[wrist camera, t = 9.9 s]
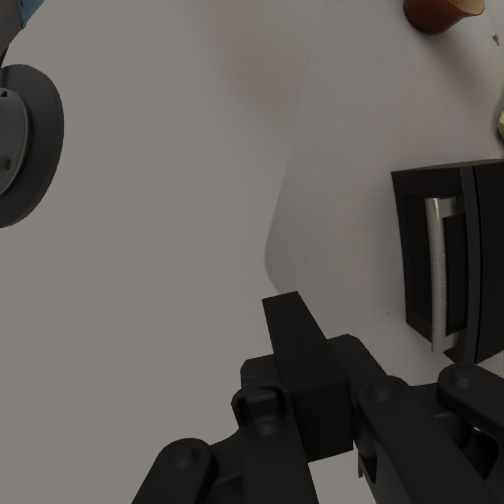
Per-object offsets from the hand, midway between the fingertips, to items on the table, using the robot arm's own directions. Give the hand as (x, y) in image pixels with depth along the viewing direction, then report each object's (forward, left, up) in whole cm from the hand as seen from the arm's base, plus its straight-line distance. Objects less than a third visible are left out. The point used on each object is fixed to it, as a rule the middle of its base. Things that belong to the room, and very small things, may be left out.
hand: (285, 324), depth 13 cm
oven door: (+5, +17, -24) cm, 30 cm away
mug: (-29, +31, -24) cm, 48 cm away
